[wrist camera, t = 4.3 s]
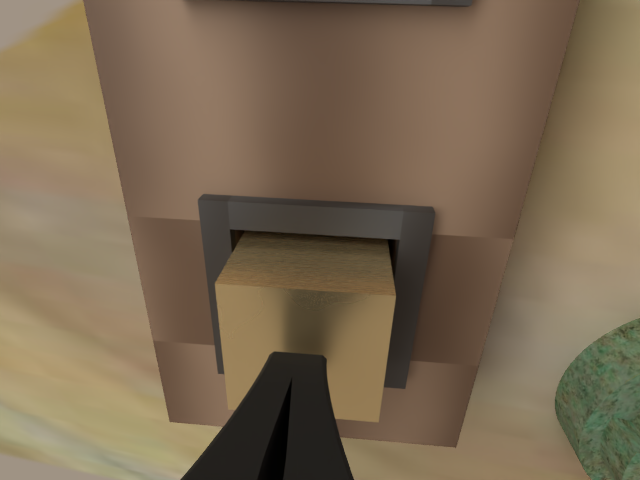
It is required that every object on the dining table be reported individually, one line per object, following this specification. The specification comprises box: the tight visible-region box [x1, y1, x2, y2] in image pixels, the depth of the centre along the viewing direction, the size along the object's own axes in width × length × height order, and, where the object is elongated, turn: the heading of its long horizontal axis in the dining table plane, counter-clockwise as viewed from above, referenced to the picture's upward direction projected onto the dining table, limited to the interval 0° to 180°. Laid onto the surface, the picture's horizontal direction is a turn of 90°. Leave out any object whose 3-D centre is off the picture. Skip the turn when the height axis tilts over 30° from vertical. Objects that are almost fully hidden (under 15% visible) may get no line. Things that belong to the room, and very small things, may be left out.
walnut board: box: [83, 0, 580, 447], centre depth 12 cm, size 12×26×4 cm, turn 178°
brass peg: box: [215, 230, 396, 422], centre depth 13 cm, size 4×4×4 cm
